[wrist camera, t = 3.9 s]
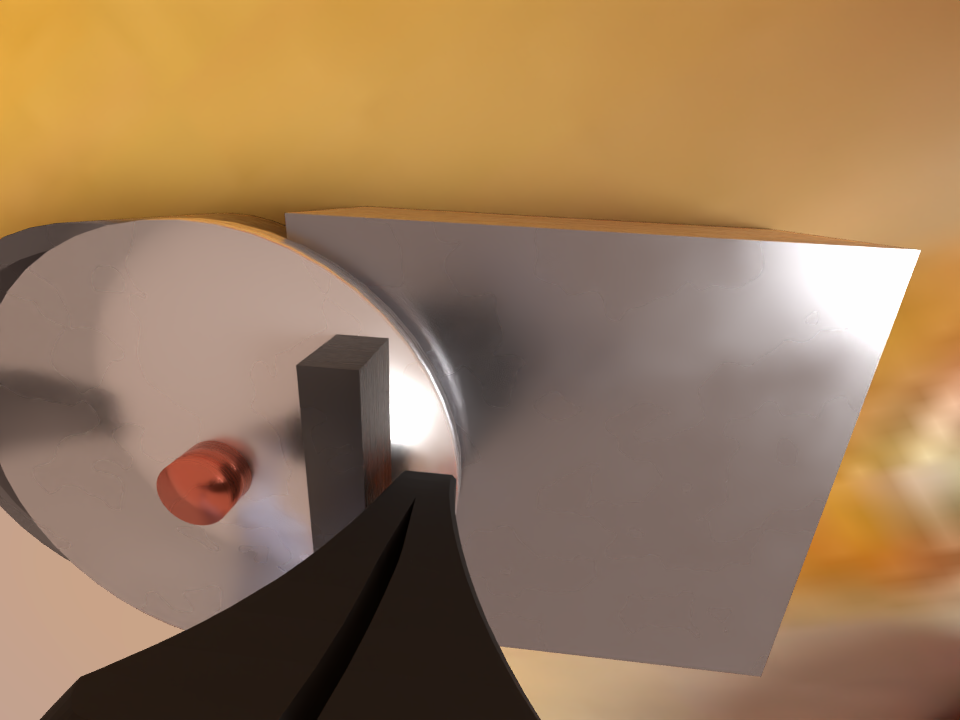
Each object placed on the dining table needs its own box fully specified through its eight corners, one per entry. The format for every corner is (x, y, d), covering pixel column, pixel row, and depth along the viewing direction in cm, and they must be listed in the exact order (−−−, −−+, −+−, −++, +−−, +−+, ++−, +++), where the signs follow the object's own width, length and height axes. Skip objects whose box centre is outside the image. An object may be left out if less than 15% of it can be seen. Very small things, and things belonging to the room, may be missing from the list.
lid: (79, 601, 15) (-13, 686, 13) (-53, 202, 11) (-234, 205, 8) (454, 645, 14) (439, 745, 12) (472, 234, 10) (454, 248, 8)
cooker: (105, 481, 22) (-126, 641, 14) (25, 187, 17) (-383, 180, 9) (692, 539, 20) (801, 758, 12) (774, 229, 15) (1027, 264, 8)
